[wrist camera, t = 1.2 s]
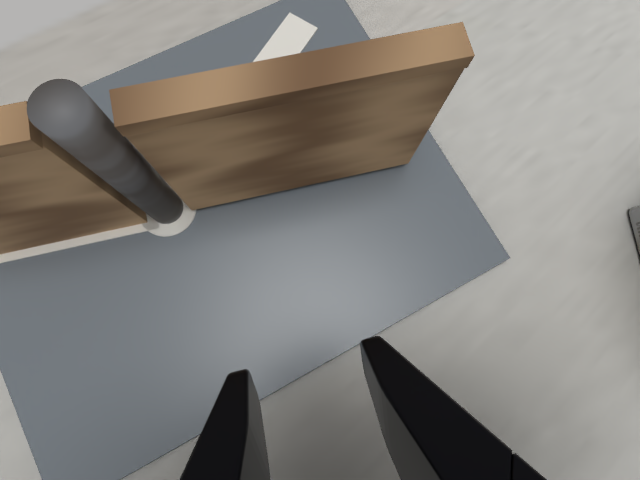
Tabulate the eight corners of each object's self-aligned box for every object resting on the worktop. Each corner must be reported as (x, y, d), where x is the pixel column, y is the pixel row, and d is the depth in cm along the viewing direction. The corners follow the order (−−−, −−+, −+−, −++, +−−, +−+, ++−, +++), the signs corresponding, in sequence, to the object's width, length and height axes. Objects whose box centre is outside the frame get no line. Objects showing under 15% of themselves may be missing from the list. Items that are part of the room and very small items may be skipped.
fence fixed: (188, 222, 21) (90, 126, 12) (-18, 268, 21) (-309, 205, 11) (183, 192, 22) (83, 73, 12) (-21, 235, 21) (-305, 146, 11)
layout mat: (506, 259, 22) (511, 257, 21) (61, 512, 18) (54, 516, 18) (330, -16, 25) (331, -24, 24) (-74, 160, 22) (-83, 156, 21)
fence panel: (191, 212, 21) (114, 126, 12) (187, 189, 21) (108, 89, 13) (408, 165, 22) (474, 55, 13) (402, 143, 22) (462, 21, 13)
